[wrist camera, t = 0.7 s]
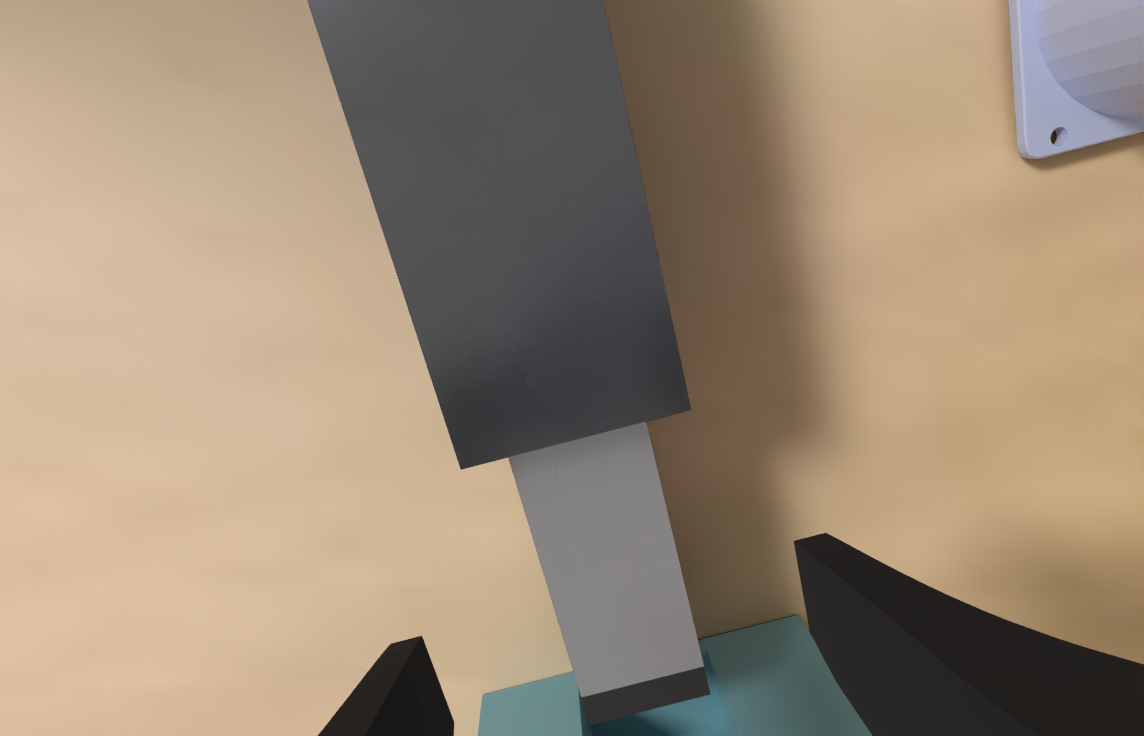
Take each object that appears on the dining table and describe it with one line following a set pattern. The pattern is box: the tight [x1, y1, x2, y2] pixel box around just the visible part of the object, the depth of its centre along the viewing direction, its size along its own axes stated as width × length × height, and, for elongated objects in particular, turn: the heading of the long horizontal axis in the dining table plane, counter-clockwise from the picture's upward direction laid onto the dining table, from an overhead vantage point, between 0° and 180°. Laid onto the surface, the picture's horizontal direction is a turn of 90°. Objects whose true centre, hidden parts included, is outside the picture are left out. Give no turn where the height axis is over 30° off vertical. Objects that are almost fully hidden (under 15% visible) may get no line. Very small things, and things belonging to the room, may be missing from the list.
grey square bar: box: [508, 422, 711, 725], centre depth 17 cm, size 4×18×4 cm, turn 14°
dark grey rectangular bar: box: [307, 0, 691, 469], centre depth 15 cm, size 6×14×6 cm, turn 14°
